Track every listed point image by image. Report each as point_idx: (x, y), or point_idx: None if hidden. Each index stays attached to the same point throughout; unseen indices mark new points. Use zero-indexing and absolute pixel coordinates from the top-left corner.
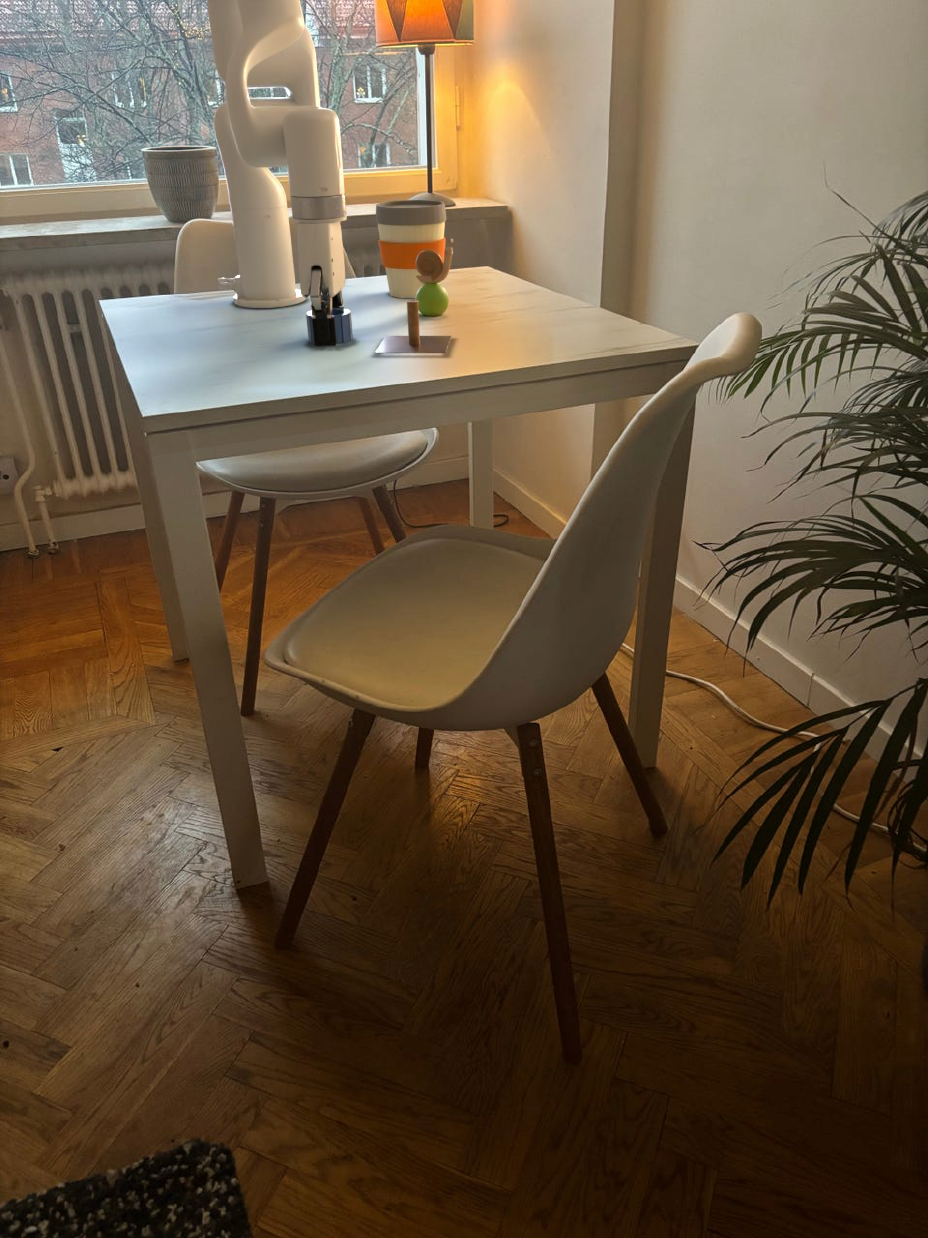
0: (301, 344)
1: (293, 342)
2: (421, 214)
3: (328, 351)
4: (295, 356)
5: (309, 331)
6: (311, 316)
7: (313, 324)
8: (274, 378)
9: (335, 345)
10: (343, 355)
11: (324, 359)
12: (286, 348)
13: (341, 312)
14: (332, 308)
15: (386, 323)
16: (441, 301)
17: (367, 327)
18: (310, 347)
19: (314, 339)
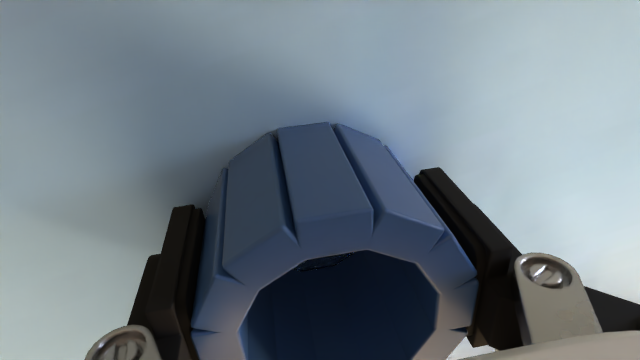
0: (276, 86)
1: (317, 21)
2: None
3: None
4: (9, 146)
5: (241, 189)
6: (210, 285)
7: (153, 285)
8: None
9: None
10: (120, 322)
11: (22, 285)
12: (166, 27)
13: (401, 349)
14: (455, 311)
15: (616, 288)
16: None
17: (574, 253)
18: (221, 154)
19: (170, 224)
